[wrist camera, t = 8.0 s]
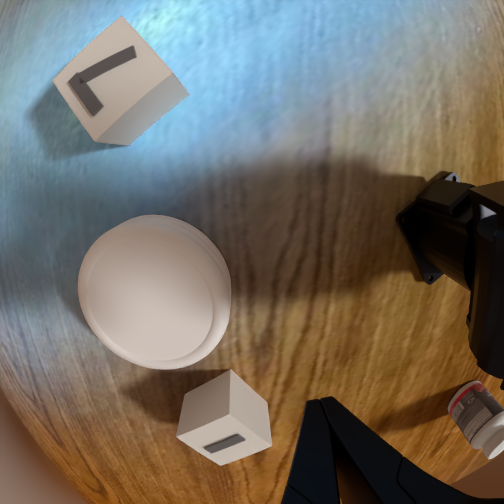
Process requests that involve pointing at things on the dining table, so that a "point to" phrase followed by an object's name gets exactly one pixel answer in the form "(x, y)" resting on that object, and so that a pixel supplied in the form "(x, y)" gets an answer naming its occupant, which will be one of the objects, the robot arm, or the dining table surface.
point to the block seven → (119, 85)
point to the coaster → (156, 292)
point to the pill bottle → (479, 418)
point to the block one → (224, 419)
